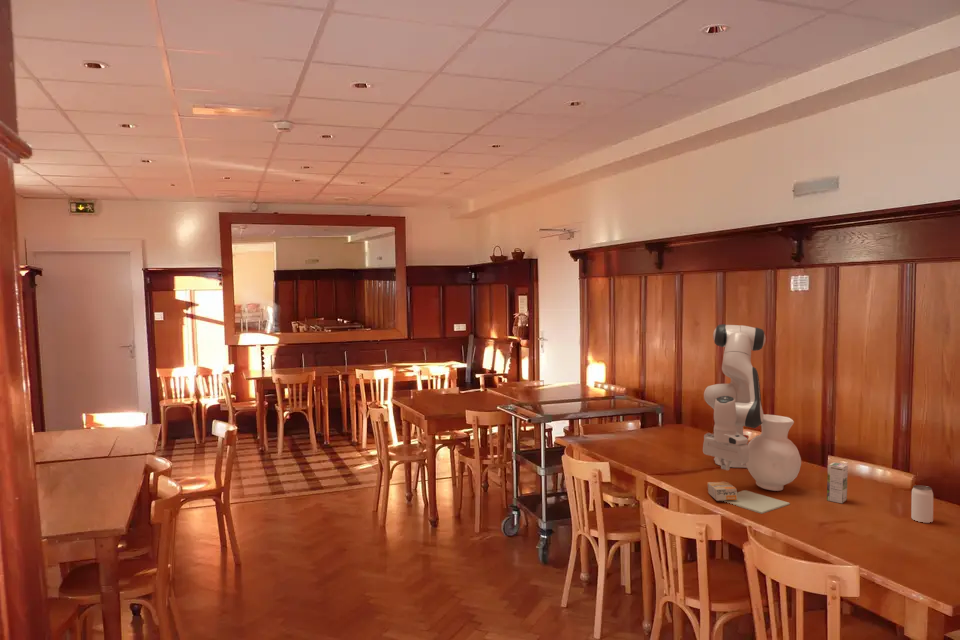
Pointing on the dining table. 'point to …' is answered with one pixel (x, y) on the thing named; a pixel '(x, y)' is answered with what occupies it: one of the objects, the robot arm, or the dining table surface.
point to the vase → (773, 454)
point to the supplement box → (722, 491)
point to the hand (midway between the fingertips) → (725, 469)
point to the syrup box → (837, 482)
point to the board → (756, 502)
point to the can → (922, 504)
